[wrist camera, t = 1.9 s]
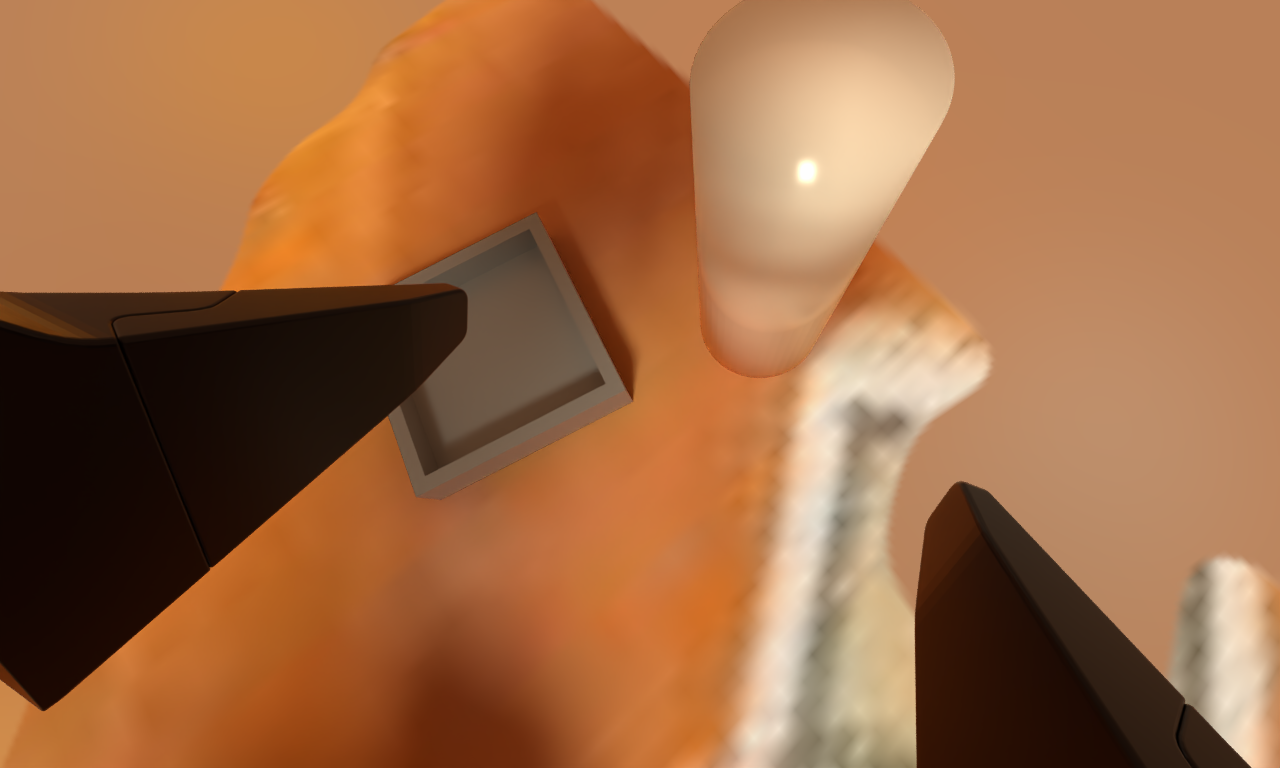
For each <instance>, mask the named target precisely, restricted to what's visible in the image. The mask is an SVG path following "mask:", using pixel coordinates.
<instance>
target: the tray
mask: <svg viewBox="0 0 1280 768" xmlns="http://www.w3.org/2000/svg"><path fill="white" fill-rule="evenodd" d="M434 283H447V284H450V285H453V286H455V287H458V288H461V289H463V290H464V291H465V292H466V294H467V297H468V324H467V333H466V336H465V338H464V339H463V341H462V342H461V343H460V344H459V345H458V346H457V348H456V349H455V350H454V351H453V352H452V353H451V354H450V355H449V356H448V357H447V358H446V359H445V360H444V362H443V363H442V364H441V365H440V366H439V367H438V368H437V369H436V370H435V371H434V372H433V373H432V374H431V375H430V377H429V378H428V379H427V380H426V381H425V382H424V383H423V384H422V385H421V386H420V387H419V388H418V389H417V390H416V391H415V392H414V393H413V394H412V395H411V396H410V397H409V398H407V399H406V400H405V401H404V402H403V403H402V404H401V405H399V406H398V407H397V408H396V409H395V410H394V411H393V412H391V413H390V414H389V415H388V417H389V420H390V423H391V425H392V428H393V431H394V434H395V437H396V440H397V443H398V446H399V449H400V452H401V455H402V457H403V460H404V463H405V466H406V469H407V472H408V475H409V478H410V481H411V484H412V487H413V489H414V492H415V495H416V497H420V498H429V499H439V500H442V499H444V498H445V497H447V496H449V495H451V494H453V493H455V492H457V491H459V490H461V489H463V488H465V487H467V486H469V485H471V484H473V483H475V482H477V481H479V480H481V479H483V478H485V477H487V476H488V475H490V474H492V473H494V472H496V471H498V470H500V469H502V468H504V467H506V466H508V465H510V464H512V463H514V462H516V461H518V460H520V459H522V458H524V457H526V456H528V455H529V454H531V453H533V452H535V451H537V450H539V449H541V448H543V447H545V446H547V445H549V444H551V443H553V442H555V441H557V440H559V439H561V438H563V437H565V436H567V435H569V434H570V433H572V432H574V431H576V430H578V429H580V428H582V427H584V426H586V425H588V424H590V423H592V422H594V421H596V420H598V419H600V418H602V417H604V416H606V415H608V414H610V413H612V412H613V411H615V410H617V409H619V408H621V407H623V406H625V405H627V404H629V403H631V402H633V401H632V399H631V397H630V395H629V393H628V391H627V389H626V387H625V385H624V383H623V381H622V379H621V377H620V375H619V373H618V371H617V369H616V367H615V365H614V363H613V361H612V359H611V357H610V355H609V353H608V351H607V349H606V347H605V345H604V343H603V341H602V339H601V337H600V335H599V333H598V331H597V329H596V327H595V325H594V323H593V321H592V319H591V317H590V315H589V313H588V311H587V309H586V307H585V305H584V303H583V301H582V299H581V297H580V295H579V293H578V291H577V289H576V287H575V286H574V284H573V282H572V280H571V278H570V276H569V274H568V272H567V270H566V268H565V266H564V264H563V262H562V260H561V258H560V256H559V254H558V252H557V250H556V248H555V246H554V244H553V242H552V240H551V238H550V236H549V234H548V232H547V230H546V229H545V227H544V225H543V223H542V221H541V220H540V218H539V216H538V214H537V212H536V213H534V214H532V215H530V216H528V217H526V218H524V219H522V220H520V221H518V222H516V223H514V224H512V225H510V226H508V227H506V228H504V229H502V230H500V231H498V232H496V233H494V234H492V235H491V236H489V237H487V238H485V239H483V240H481V241H479V242H477V243H475V244H473V245H471V246H469V247H467V248H465V249H463V250H461V251H459V252H457V253H455V254H453V255H451V256H449V257H447V258H445V259H443V260H441V261H439V262H437V263H436V264H434V265H432V266H430V267H428V268H426V269H424V270H422V271H420V272H418V273H416V274H414V275H412V276H410V277H408V278H406V279H404V280H402V281H400V282H398V283H396V284H394V285H406V284H434Z"/></svg>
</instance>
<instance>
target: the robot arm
mask: <svg viewBox="0 0 1280 768" xmlns="http://www.w3.org/2000/svg"><path fill="white" fill-rule="evenodd" d="M467 324H468V297H467V294H466V292H465V291H464V290H463V289H461V288H458V287H455V286H453V285H450V284H447V283H434V284H406V285H377V286H349V287H320V288H292V289H264V290H240V291H238V292H236V291H202V292H156V293H155V292H152V293H18V292H0V680H1V681H3V682H4V683H6V684H7V685H8V686H9V687H11V688H12V689H13V690H15V691H16V692H17V693H19V694H20V695H21V696H23V697H24V698H25V699H27V700H28V701H29V702H31V703H32V704H33V705H35V706H36V707H37V708H38V709H40V710H41V711H45V710H47V709H48V708H50V707H51V706H53V705H54V704H55V703H57V702H58V701H59V700H61V699H62V698H63V697H64V696H66V695H67V694H68V693H69V692H70V691H71V690H73V689H74V688H75V687H76V686H77V685H78V684H79V683H81V682H82V681H83V680H84V679H85V678H86V677H88V676H89V675H90V674H91V673H92V672H93V671H94V670H96V669H97V668H98V667H99V666H100V665H101V664H103V663H104V662H105V661H106V660H107V659H108V658H109V657H111V656H112V655H113V654H114V653H115V652H116V651H118V650H119V649H120V648H121V647H122V646H123V645H124V644H126V643H127V642H128V641H129V640H130V639H131V638H132V637H134V636H135V635H136V634H137V633H138V632H139V631H141V630H142V629H143V628H144V627H145V626H146V625H147V624H149V623H150V622H151V621H152V620H153V619H154V618H156V617H157V616H158V615H159V614H160V613H161V612H162V611H164V610H165V609H166V608H167V607H168V606H169V605H171V604H172V603H173V602H174V601H175V600H176V599H177V598H179V597H180V596H181V595H182V594H183V593H184V592H185V591H187V590H188V589H189V588H190V587H191V586H192V585H194V584H195V583H196V582H197V581H198V580H199V579H200V578H202V577H203V576H204V575H205V574H206V573H207V572H209V571H210V567H214V566H215V565H216V564H217V563H218V562H219V561H221V560H222V559H223V558H224V557H225V556H226V555H228V554H229V553H230V552H231V551H232V550H233V549H234V548H236V547H237V546H238V545H239V544H240V543H241V542H243V541H244V540H245V539H246V538H247V537H248V536H249V535H251V534H252V533H253V532H254V531H255V530H256V529H258V528H259V527H260V526H261V525H262V524H263V523H264V522H266V521H267V520H268V519H269V518H270V517H271V516H273V515H274V514H275V513H276V512H277V511H278V510H279V509H281V508H282V507H283V506H284V505H285V504H286V503H288V502H289V501H290V500H291V499H292V498H293V497H294V496H296V495H297V494H298V493H299V492H300V491H301V490H303V489H304V488H305V487H306V486H307V485H308V484H309V483H311V482H312V481H313V480H314V479H315V478H316V477H318V476H319V475H320V474H321V473H322V472H323V471H324V470H326V469H327V468H328V467H329V466H330V465H331V464H333V463H334V462H335V461H336V460H337V459H338V458H339V457H341V456H342V455H343V454H344V453H345V452H346V451H348V450H349V449H350V448H351V447H352V446H353V445H354V444H356V443H357V442H358V441H359V440H360V439H361V438H363V437H364V436H365V435H366V434H367V433H368V432H369V431H371V430H372V429H373V428H374V427H375V426H376V425H378V424H379V423H380V422H381V421H382V420H383V419H384V418H386V417H387V416H388V415H389V414H390V413H391V412H393V411H394V410H395V409H396V408H397V407H398V406H399V405H401V404H402V403H403V402H404V401H405V400H406V399H407V398H409V397H410V396H411V395H412V394H413V393H414V392H415V391H416V390H417V389H418V388H419V387H420V386H421V385H422V384H423V383H424V382H425V381H426V380H427V379H428V378H429V377H430V375H431V374H432V373H433V372H434V371H435V370H436V369H437V368H438V367H439V366H440V365H441V364H442V363H443V362H444V360H445V359H446V358H447V357H448V356H449V355H450V354H451V353H452V352H453V351H454V350H455V349H456V348H457V346H458V345H459V344H460V343H461V342H462V341H463V339H464V338H465V336H466V333H467ZM915 680H916V752H917V768H1251V767H1250V766H1249V765H1248V764H1247V763H1246V762H1245V761H1244V760H1243V759H1242V757H1241V756H1240V755H1239V754H1238V753H1237V752H1236V751H1235V750H1234V749H1233V748H1232V747H1231V746H1230V745H1229V744H1228V743H1227V742H1226V741H1225V740H1224V739H1223V738H1222V737H1221V736H1220V735H1219V734H1218V733H1217V732H1216V731H1215V730H1214V728H1213V727H1212V726H1211V725H1210V724H1209V723H1208V722H1207V721H1206V720H1205V719H1204V718H1203V717H1202V716H1201V715H1200V714H1199V713H1198V712H1197V710H1196V709H1195V708H1194V707H1193V706H1191V705H1189V704H1185V698H1184V697H1183V696H1182V695H1181V694H1180V693H1179V692H1178V691H1177V690H1176V689H1175V688H1174V686H1173V685H1172V684H1171V683H1170V682H1169V681H1168V680H1167V679H1166V678H1165V677H1164V676H1163V675H1162V674H1161V673H1160V672H1159V671H1158V670H1157V669H1156V668H1155V666H1153V664H1152V663H1151V662H1150V661H1149V660H1148V659H1147V658H1146V657H1145V656H1144V655H1143V654H1142V653H1141V652H1140V651H1139V650H1138V649H1137V648H1136V647H1135V645H1133V643H1132V642H1131V641H1130V640H1129V639H1128V638H1127V637H1126V636H1125V635H1124V634H1123V633H1122V632H1121V631H1120V630H1119V629H1118V628H1117V627H1116V625H1115V624H1114V623H1113V622H1112V621H1111V620H1110V619H1109V618H1108V617H1107V616H1106V615H1105V614H1104V613H1103V612H1102V611H1101V610H1100V609H1099V608H1098V606H1097V605H1096V604H1095V603H1094V602H1093V601H1092V600H1091V599H1090V598H1089V597H1088V596H1087V595H1086V594H1085V593H1084V592H1083V591H1082V590H1081V589H1080V588H1079V587H1078V586H1077V584H1076V583H1075V582H1074V581H1073V580H1072V579H1071V578H1070V577H1069V576H1068V575H1067V574H1066V573H1065V572H1064V571H1063V570H1062V569H1061V567H1059V565H1058V564H1057V563H1056V562H1055V561H1054V560H1053V559H1052V558H1051V557H1050V556H1049V555H1048V554H1047V553H1046V552H1045V551H1044V550H1043V549H1042V547H1041V546H1039V544H1038V543H1037V542H1036V541H1035V540H1034V539H1033V538H1032V537H1031V536H1030V535H1029V534H1028V533H1027V532H1026V531H1025V530H1024V529H1023V528H1022V526H1021V525H1020V524H1019V523H1018V522H1017V521H1016V520H1015V519H1014V518H1013V517H1012V516H1011V515H1010V514H1009V513H1008V512H1007V511H1006V510H1005V509H1004V507H1003V506H1002V505H1001V504H1000V503H999V502H998V501H997V500H996V499H995V498H994V497H993V496H992V495H991V494H990V493H989V492H988V491H986V490H985V489H982V488H979V487H977V486H974V485H972V484H969V483H966V482H963V481H959V482H956V483H955V484H954V485H953V486H952V487H951V488H950V489H949V491H948V492H947V494H946V495H945V496H944V497H943V499H942V500H941V502H940V503H939V504H938V506H937V507H936V509H935V510H934V512H933V513H932V514H931V516H930V517H929V519H928V521H927V524H926V527H925V532H924V540H923V549H922V557H921V565H920V573H919V582H918V589H917V598H916V608H915Z"/></svg>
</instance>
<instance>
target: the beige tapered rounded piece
mask: <svg viewBox="0 0 1280 768" xmlns="http://www.w3.org/2000/svg"><path fill="white" fill-rule="evenodd" d="M953 90H954V65H953V60H952V55H951V53H950V50H949V47H948V44H947V42H946V40H945V38H944V37H943V35H942V33H941V31H940V30H939V28H938V27H937V26H936V25H935V23H934V22H933V21H932V20H931V18H930V17H929V16H927V14H926V13H925V12H923V11H922V10H921V9H920V8H919V7H918V6H916V5H915V4H913V3H912V2H911V1H909V0H743V1H742V2H740V3H739V4H738V5H736V6H735V7H733V8H732V9H731V10H729V11H728V12H727V13H726V14H725V15H724V16H723V17H721V18H720V19H719V20H718V21H717V22H716V24H715V25H714V26H713V27H712V28H711V29H710V31H709V32H708V33H707V35H706V36H705V38H704V40H703V41H702V43H701V44H700V47H699V49H698V51H697V53H696V55H695V58H694V62H693V65H692V69H691V76H690V106H691V127H692V149H693V171H694V192H695V214H696V235H697V257H698V278H699V300H700V321H701V332H702V337H703V340H704V343H705V345H706V347H707V349H708V350H709V352H710V353H711V355H712V356H713V357H714V358H715V359H716V360H717V361H718V362H719V363H720V364H721V365H722V366H724V367H725V368H727V369H728V370H730V371H732V372H734V373H737V374H740V375H743V376H747V377H754V378H767V377H773V376H777V375H780V374H783V373H785V372H788V371H790V370H791V369H793V368H795V367H796V366H797V365H799V364H800V363H801V362H802V361H803V360H804V359H805V358H806V357H807V356H808V354H809V353H810V352H811V350H812V348H813V347H814V345H815V343H816V341H817V340H818V338H819V336H820V334H821V333H822V331H823V329H824V327H825V326H826V324H827V322H828V320H829V319H830V317H831V315H832V313H833V312H834V310H835V308H836V306H837V305H838V303H839V301H840V300H841V298H842V296H843V294H844V293H845V291H846V289H847V287H848V286H849V284H850V282H851V280H852V279H853V277H854V275H855V273H856V272H857V270H858V268H859V266H860V265H861V263H862V261H863V259H864V258H865V256H866V254H867V252H868V251H869V249H870V247H871V246H872V244H873V242H874V240H875V239H876V237H877V235H878V233H879V231H880V230H881V228H882V226H883V225H884V223H885V221H886V219H887V218H888V216H889V214H890V212H891V211H892V209H893V207H894V205H895V204H896V202H897V200H898V198H899V197H900V195H901V193H902V192H903V190H904V188H905V186H906V185H907V183H908V181H909V179H910V177H911V176H912V174H913V172H914V171H915V169H916V167H917V165H918V164H919V162H920V160H921V158H922V157H923V155H924V153H925V151H926V150H927V148H928V146H929V144H930V143H931V141H932V139H933V138H934V136H935V134H936V132H937V131H938V129H939V127H940V125H941V123H942V121H943V119H944V117H945V116H946V114H947V112H948V109H949V106H950V103H951V100H952V96H953Z"/></svg>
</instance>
